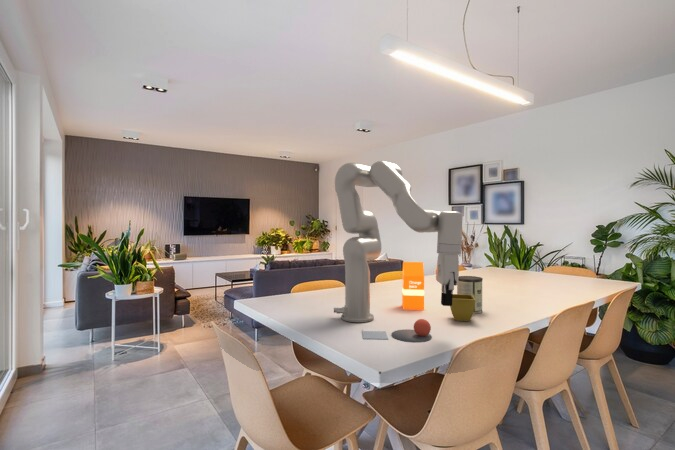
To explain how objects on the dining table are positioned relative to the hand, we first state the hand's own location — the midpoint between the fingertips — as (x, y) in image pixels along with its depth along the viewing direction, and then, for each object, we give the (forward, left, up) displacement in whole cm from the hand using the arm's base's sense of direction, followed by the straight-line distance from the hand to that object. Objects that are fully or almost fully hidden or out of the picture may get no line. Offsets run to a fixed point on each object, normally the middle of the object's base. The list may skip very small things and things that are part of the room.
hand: (446, 305), depth 120 cm
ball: (-8, 0, -8) cm, 11 cm away
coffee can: (+20, +36, -11) cm, 43 cm away
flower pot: (+12, +21, -11) cm, 27 cm away
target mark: (-11, 0, -10) cm, 15 cm away
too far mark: (-23, 0, -10) cm, 25 cm away
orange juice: (-3, +41, -11) cm, 43 cm away
